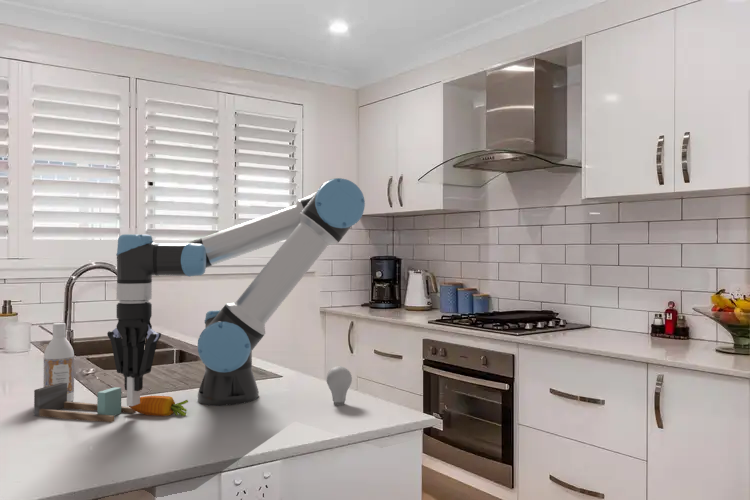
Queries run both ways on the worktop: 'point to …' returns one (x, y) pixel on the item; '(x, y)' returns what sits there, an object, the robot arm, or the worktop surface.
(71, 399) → the bath foam
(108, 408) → the cap
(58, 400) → the track
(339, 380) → the lightbulb
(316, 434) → the worktop surface
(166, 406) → the carrot
